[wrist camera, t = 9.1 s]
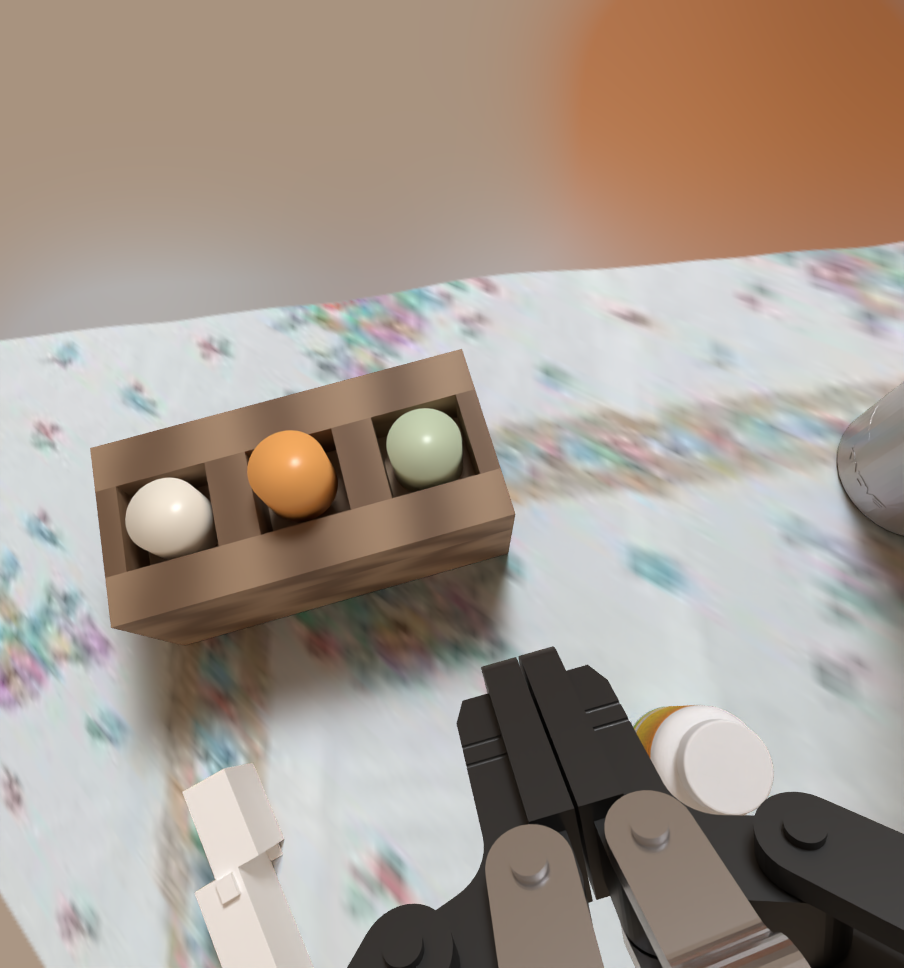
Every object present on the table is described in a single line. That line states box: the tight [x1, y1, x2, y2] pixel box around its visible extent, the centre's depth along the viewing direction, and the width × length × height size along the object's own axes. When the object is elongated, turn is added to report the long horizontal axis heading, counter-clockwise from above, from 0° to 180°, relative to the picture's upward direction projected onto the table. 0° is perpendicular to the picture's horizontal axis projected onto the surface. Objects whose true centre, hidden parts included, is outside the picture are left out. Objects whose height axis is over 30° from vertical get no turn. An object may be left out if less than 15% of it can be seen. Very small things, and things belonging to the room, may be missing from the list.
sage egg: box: [386, 408, 463, 493], centre depth 38 cm, size 4×4×3 cm
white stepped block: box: [183, 763, 314, 968], centre depth 37 cm, size 15×11×6 cm
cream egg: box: [125, 478, 218, 561], centre depth 37 cm, size 4×4×3 cm
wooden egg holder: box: [90, 349, 515, 645], centre depth 41 cm, size 21×10×9 cm, turn 106°
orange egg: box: [247, 430, 338, 522], centre depth 36 cm, size 4×4×3 cm
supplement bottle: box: [633, 705, 774, 815], centre depth 35 cm, size 5×5×10 cm
